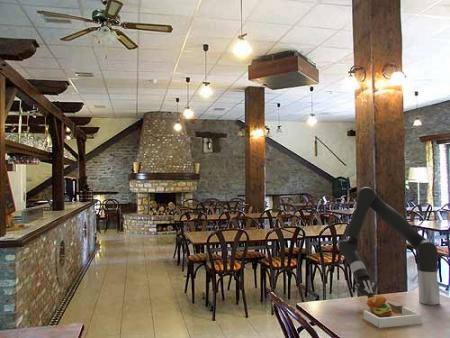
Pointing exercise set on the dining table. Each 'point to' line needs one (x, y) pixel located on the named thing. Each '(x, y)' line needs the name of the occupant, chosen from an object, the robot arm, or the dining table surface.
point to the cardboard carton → (395, 306)
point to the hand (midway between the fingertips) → (372, 300)
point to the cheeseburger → (379, 306)
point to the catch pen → (395, 319)
